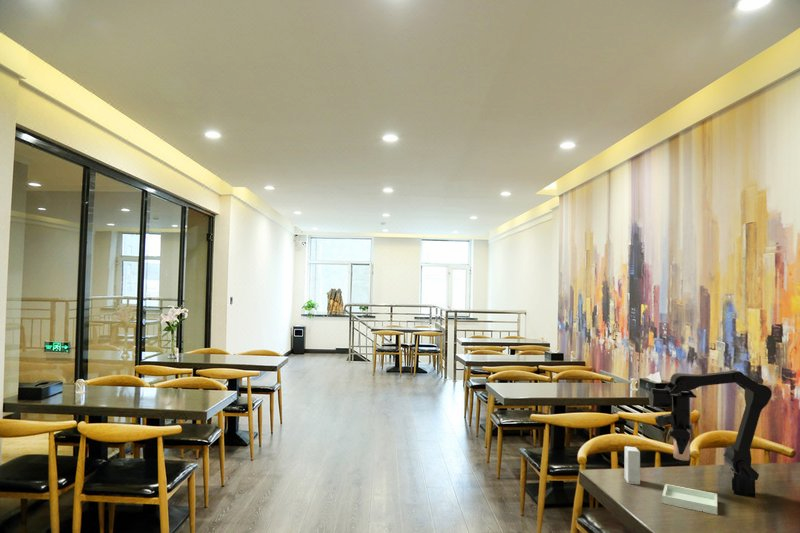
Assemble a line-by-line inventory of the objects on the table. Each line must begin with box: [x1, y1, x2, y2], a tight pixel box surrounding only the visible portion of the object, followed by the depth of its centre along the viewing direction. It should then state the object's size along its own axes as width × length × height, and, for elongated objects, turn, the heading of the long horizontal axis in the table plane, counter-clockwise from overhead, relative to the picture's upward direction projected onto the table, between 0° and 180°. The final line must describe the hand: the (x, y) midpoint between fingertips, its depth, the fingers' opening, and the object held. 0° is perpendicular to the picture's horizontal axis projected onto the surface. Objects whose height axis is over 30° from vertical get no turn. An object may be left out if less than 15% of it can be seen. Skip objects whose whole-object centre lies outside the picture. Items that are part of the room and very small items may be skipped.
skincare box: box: [623, 445, 641, 486], centre depth 187 cm, size 6×4×12 cm
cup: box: [672, 437, 690, 461], centre depth 183 cm, size 5×5×7 cm
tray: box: [661, 483, 718, 515], centre depth 169 cm, size 16×13×2 cm
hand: (681, 452), depth 182 cm, fingers closed on cup, 5 cm apart
